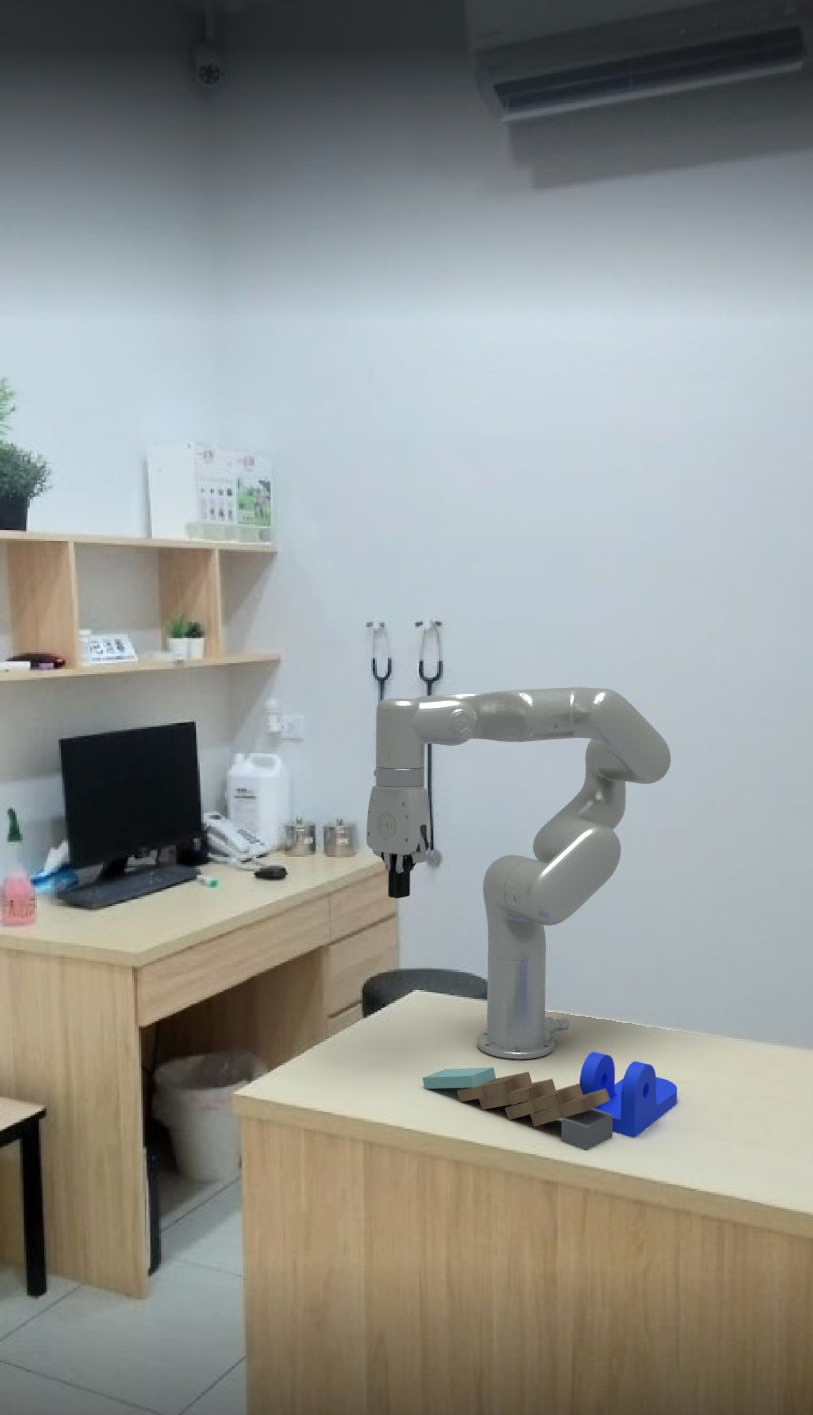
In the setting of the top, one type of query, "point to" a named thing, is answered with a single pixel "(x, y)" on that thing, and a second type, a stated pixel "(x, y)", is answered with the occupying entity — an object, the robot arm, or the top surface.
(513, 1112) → the tile
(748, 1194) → the top surface
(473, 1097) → the tile
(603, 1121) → the block
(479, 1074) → the tile
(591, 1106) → the tile
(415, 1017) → the top surface
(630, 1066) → the bracket
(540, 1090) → the tile
